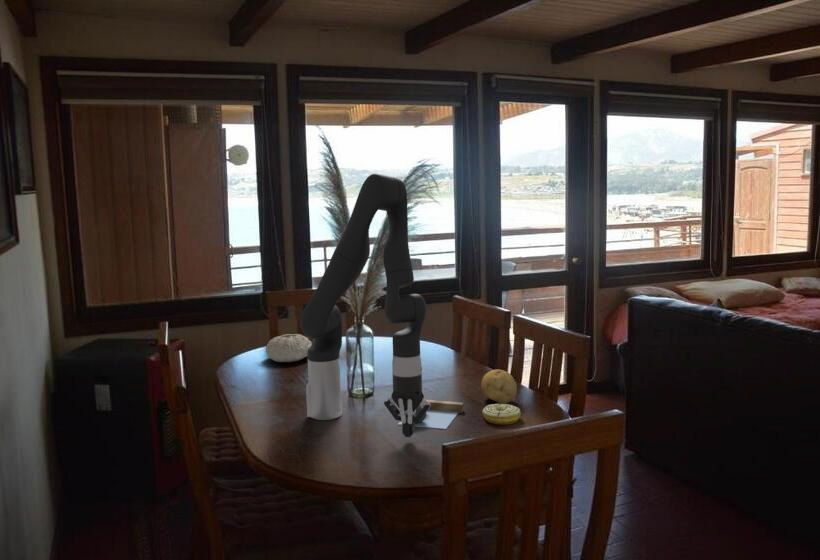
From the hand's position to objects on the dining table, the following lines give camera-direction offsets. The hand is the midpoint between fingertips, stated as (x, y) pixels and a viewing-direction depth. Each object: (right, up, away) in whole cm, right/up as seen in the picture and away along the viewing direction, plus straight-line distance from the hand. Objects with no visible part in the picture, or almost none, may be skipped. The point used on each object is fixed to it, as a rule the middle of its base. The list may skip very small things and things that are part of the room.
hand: (408, 436), depth 174 cm
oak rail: (+8, +2, +25) cm, 26 cm away
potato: (+27, +3, +31) cm, 41 cm away
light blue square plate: (+6, +1, +17) cm, 18 cm away
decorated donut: (+26, +1, +15) cm, 31 cm away
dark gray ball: (+2, +3, +14) cm, 14 cm away
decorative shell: (-47, +9, +87) cm, 99 cm away
